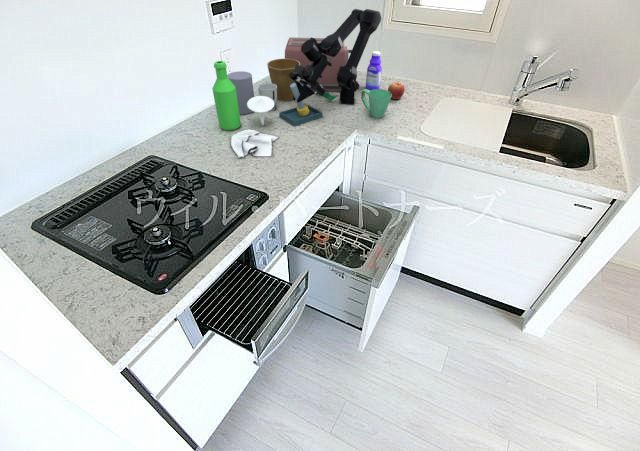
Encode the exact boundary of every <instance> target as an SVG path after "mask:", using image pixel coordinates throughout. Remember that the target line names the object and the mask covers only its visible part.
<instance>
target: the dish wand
mask: <svg viewBox="0 0 640 451" xmlns="http://www.w3.org/2000/svg"><path fill="white" fill-rule="evenodd" d="M290 87H291V90H292V92H293V95H294V97H295V99H296V100H295V102H296V104H297V106H296V107H297V111H298V113H299V115H300V116H306V115H307V114H308V113H309V109H308V106H307V104H308V103H304V100H302V101H301V102H299V103H298V102H297V99H298V97H299V96H300V93H299V90H298V88H297V85H296V83H293V84H291V85H290Z"/></svg>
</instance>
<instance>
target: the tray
mask: <svg viewBox="0 0 640 451" xmlns="http://www.w3.org/2000/svg"><path fill="white" fill-rule="evenodd" d="M306 104H307V106H308V109H309V113H308V114H307V115H306V116H300V115H299V113H298V111H297V107H298V106H296V107H293V108H289V109H286V110H281V111H279V112H278V116H279V118H280V119H281V120H283V121H285V122H287V123H288V124H290V125H292V126H294V127H296V126H299V125H302V124H305V123H308V122H311V121H314V120H317V119H320V118H323V111H321V110H319V109H317V108H315V107H313V106H311V105H309V103H306Z"/></svg>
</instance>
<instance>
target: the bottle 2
mask: <svg viewBox="0 0 640 451" xmlns="http://www.w3.org/2000/svg"><path fill="white" fill-rule="evenodd" d="M381 60H382V59H381V52H380V51H378V50H374V51H372V52H371V57H370V60H369V64H368V66H367V69H366V78H365V89H367V90H370V91H371V90H375V89H380V87H381V80H382V79H381V78H382V73H383V72H382V70H383V67H382V65H381V64H382V61H381Z"/></svg>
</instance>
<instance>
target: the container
mask: <svg viewBox="0 0 640 451" xmlns="http://www.w3.org/2000/svg"><path fill="white" fill-rule="evenodd" d="M227 77H228V79H229V80H230V81H231V82H232V83H233V85H234V86H235V87H236V94H237V100H238V107H239V114H240V115H250V114H252V113H253V112H254V111H252V110H250V109H249V108H248V106H247V102H248V101H249V100H250V99H251V98H253V97H255V92H254V84H253V83H254V82H253V75H252V73H251V72H248V71H243V70H241V71H240V70H239V71H232V72H230V73H227ZM254 113H255V112H254Z"/></svg>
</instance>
